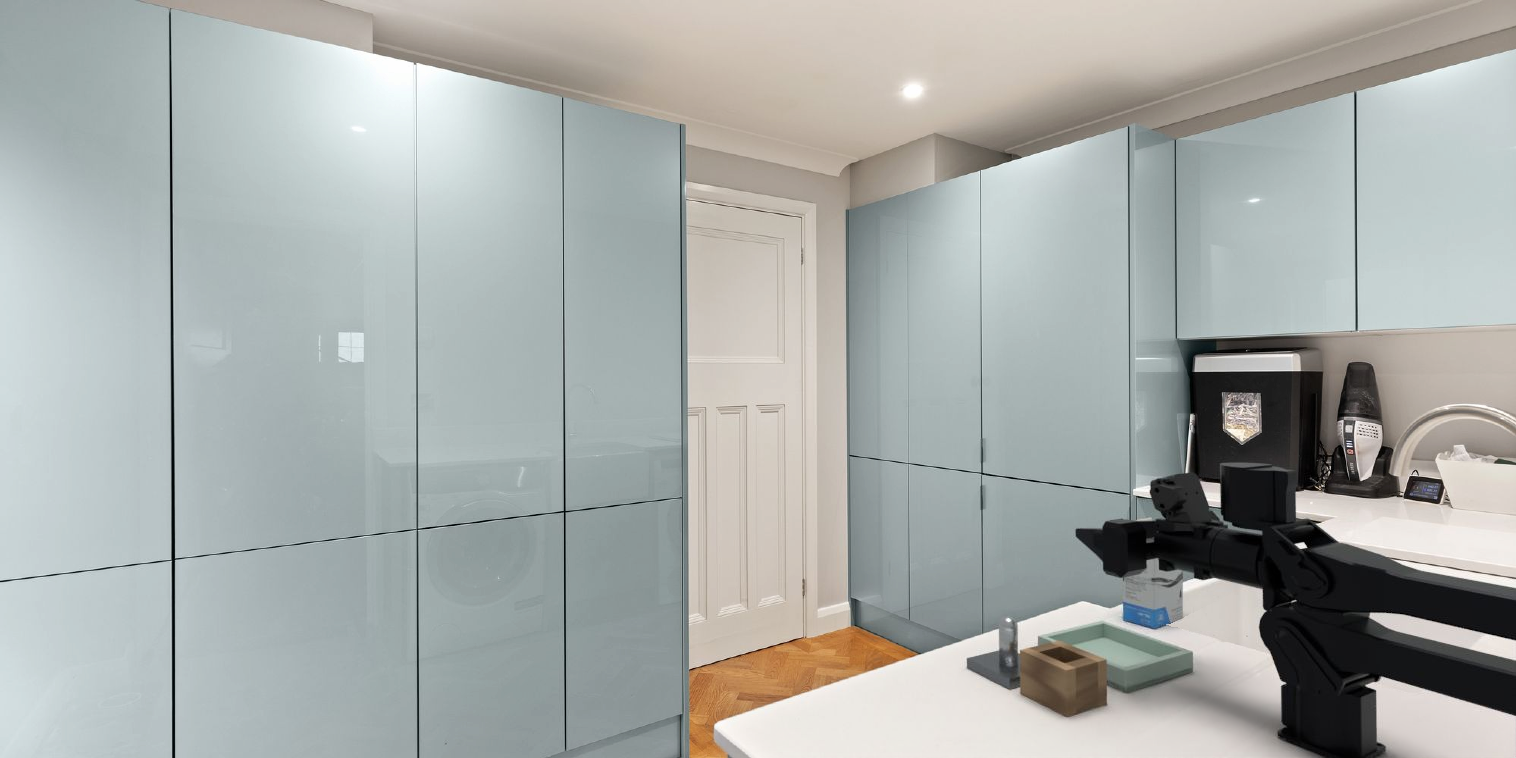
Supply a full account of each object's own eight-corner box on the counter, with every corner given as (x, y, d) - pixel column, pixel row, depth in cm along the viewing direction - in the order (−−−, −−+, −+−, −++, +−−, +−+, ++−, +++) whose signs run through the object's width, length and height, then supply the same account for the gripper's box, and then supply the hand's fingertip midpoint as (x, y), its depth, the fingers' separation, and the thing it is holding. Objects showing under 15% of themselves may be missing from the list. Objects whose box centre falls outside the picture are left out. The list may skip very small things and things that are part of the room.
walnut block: (1106, 704, 77) (1106, 659, 78) (1067, 717, 75) (1066, 670, 75) (1059, 682, 83) (1058, 640, 83) (1020, 693, 80) (1019, 650, 80)
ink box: (1155, 630, 100) (1154, 528, 100) (1121, 620, 105) (1120, 522, 105) (1185, 618, 105) (1184, 521, 105) (1151, 609, 109) (1150, 516, 109)
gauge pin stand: (1051, 677, 85) (1051, 620, 85) (1009, 689, 81) (1009, 630, 81) (1007, 657, 91) (1007, 604, 91) (966, 667, 88) (966, 612, 88)
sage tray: (1193, 671, 86) (1192, 651, 86) (1126, 692, 80) (1125, 671, 80) (1102, 638, 97) (1102, 620, 97) (1037, 654, 92) (1037, 635, 92)
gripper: (1270, 476, 82) (1145, 463, 96) (1171, 487, 73) (1049, 471, 87) (1272, 571, 82) (1146, 544, 96) (1173, 593, 73) (1050, 560, 87)
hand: (1100, 528), depth 91 cm, fingers open, 9 cm apart
